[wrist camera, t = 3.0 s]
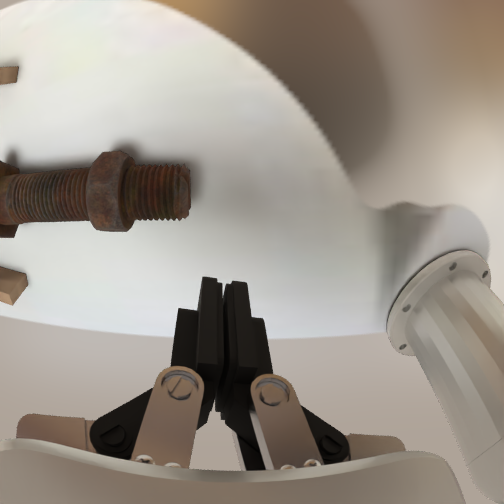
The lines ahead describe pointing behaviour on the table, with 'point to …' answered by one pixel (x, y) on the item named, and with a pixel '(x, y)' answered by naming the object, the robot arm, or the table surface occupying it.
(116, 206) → the bolt
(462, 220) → the table surface
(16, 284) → the bracket
